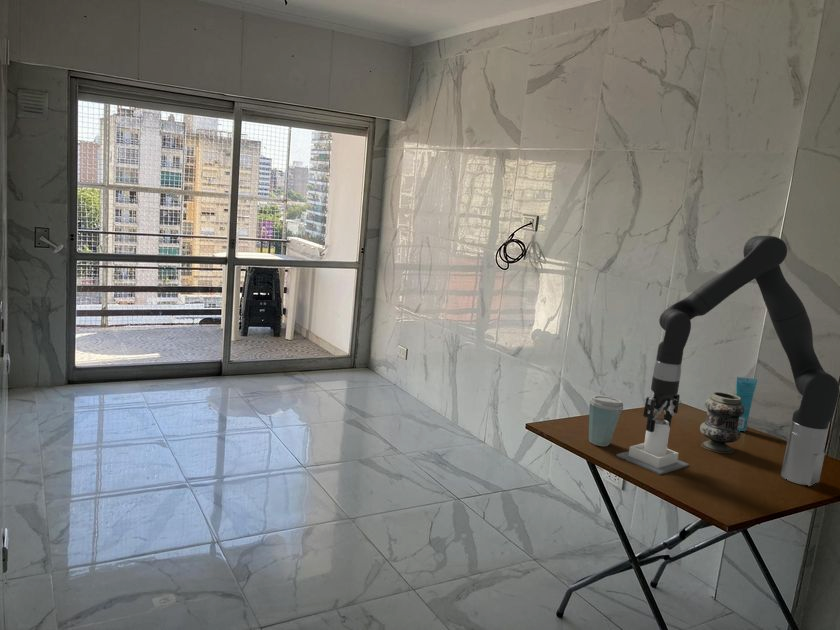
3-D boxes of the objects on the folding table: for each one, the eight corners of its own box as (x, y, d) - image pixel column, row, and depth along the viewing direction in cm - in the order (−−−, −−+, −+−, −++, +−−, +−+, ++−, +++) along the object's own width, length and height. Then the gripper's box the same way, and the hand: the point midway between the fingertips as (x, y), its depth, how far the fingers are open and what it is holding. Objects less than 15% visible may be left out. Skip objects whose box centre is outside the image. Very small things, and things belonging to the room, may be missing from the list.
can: (640, 459, 203) (646, 421, 201) (643, 453, 209) (649, 415, 207) (663, 465, 200) (669, 426, 198) (665, 458, 206) (672, 420, 204)
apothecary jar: (738, 447, 225) (748, 395, 221) (735, 458, 214) (746, 403, 211) (699, 438, 230) (708, 387, 227) (695, 448, 220) (704, 395, 216)
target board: (688, 465, 204) (690, 454, 203) (659, 474, 194) (662, 463, 194) (645, 448, 215) (647, 437, 214) (616, 456, 206) (618, 444, 205)
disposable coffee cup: (579, 435, 221) (586, 391, 219) (612, 438, 221) (619, 394, 218) (586, 447, 211) (593, 401, 208) (621, 451, 211) (628, 404, 208)
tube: (742, 427, 247) (752, 376, 244) (751, 432, 242) (761, 380, 239) (724, 426, 246) (733, 375, 242) (732, 431, 241) (742, 379, 238)
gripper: (664, 382, 193) (655, 437, 196) (691, 377, 201) (682, 429, 204) (641, 375, 198) (633, 428, 201) (668, 371, 207) (660, 422, 210)
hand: (658, 429), depth 203 cm, fingers open, 8 cm apart
